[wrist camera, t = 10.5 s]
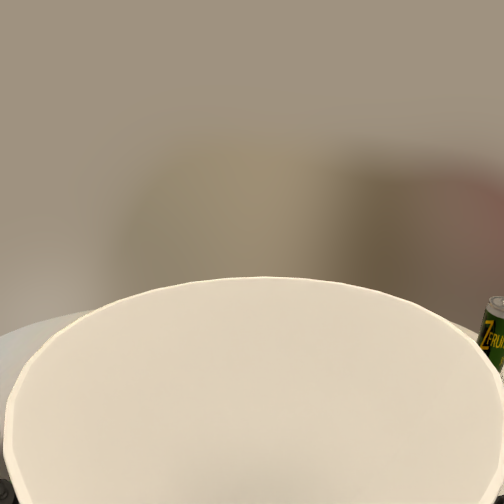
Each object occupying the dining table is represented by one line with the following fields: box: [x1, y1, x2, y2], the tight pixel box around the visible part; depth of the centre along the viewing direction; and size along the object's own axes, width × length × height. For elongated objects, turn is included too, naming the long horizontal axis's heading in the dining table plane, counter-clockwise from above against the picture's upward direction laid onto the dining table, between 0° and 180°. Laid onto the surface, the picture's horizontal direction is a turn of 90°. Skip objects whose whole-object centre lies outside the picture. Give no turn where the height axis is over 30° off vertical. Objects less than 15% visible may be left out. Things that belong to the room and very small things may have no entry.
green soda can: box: [476, 296, 504, 374], centre depth 29 cm, size 5×5×12 cm
